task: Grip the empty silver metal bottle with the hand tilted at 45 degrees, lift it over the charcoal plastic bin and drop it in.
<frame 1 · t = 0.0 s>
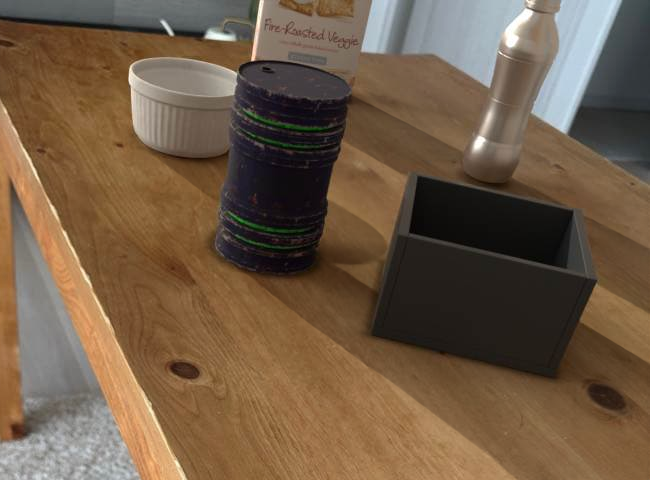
cracker box: (299, 91, 121), on the table
ramekin: (183, 142, 100), on the table
silver metal bottle: (483, 180, 106), on the table
storage jar: (265, 252, 82), on the table
bin: (463, 316, 78), on the table
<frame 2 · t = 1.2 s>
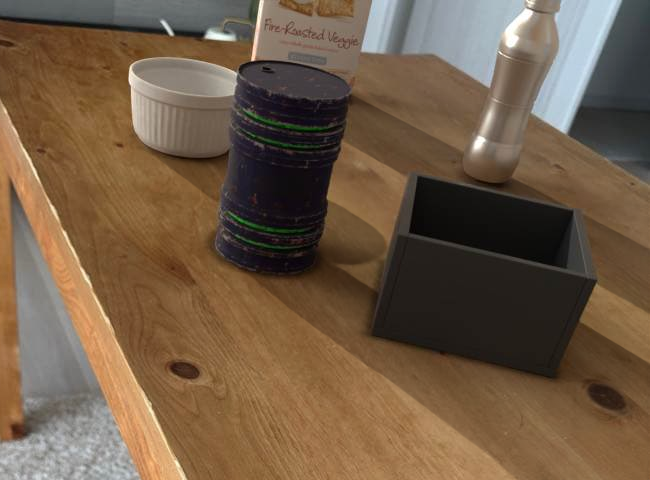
nothing on the table moved.
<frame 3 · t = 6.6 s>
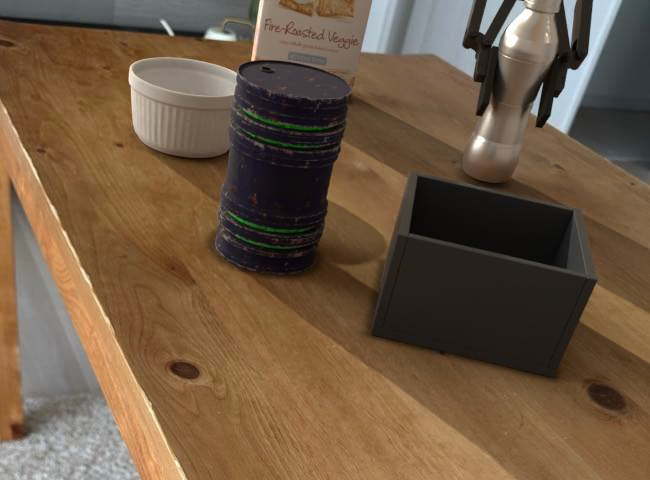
hand: (512, 115, 97), 8 cm above the table, tool tilted 45°, fingers closed on silver metal bottle, 6 cm apart
silver metal bottle: (483, 180, 106), on the table, touching gripper
everything else where it was.
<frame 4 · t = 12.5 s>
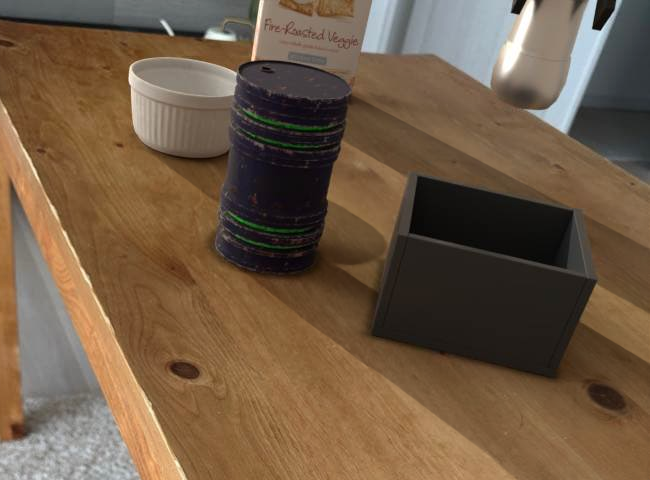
hand: (561, 11, 71), 22 cm above the table, tool tilted 45°, fingers closed on silver metal bottle, 6 cm apart
silver metal bottle: (517, 108, 80), point 14 cm above the table, touching gripper
everything else where it was.
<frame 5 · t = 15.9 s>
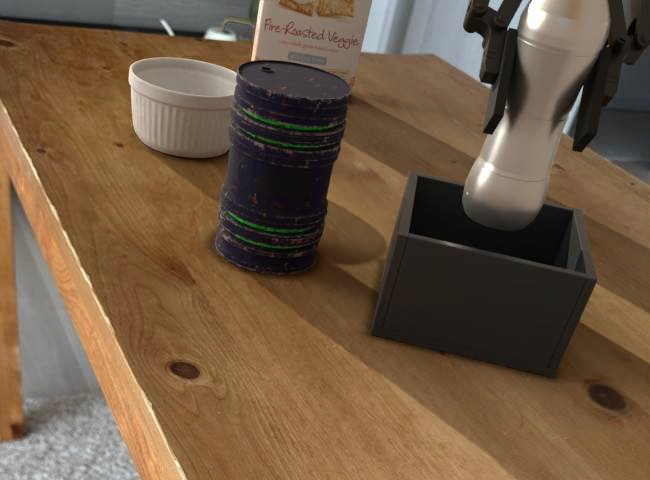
hand: (538, 133, 64), 17 cm above the table, tool tilted 45°, fingers closed on silver metal bottle, 6 cm apart
silver metal bottle: (492, 225, 73), point 8 cm above the table, touching gripper
everything else where it was.
when the fingers open (9 cm above the table, at t = 18.4 s): silver metal bottle stays where it is, resting on bin.
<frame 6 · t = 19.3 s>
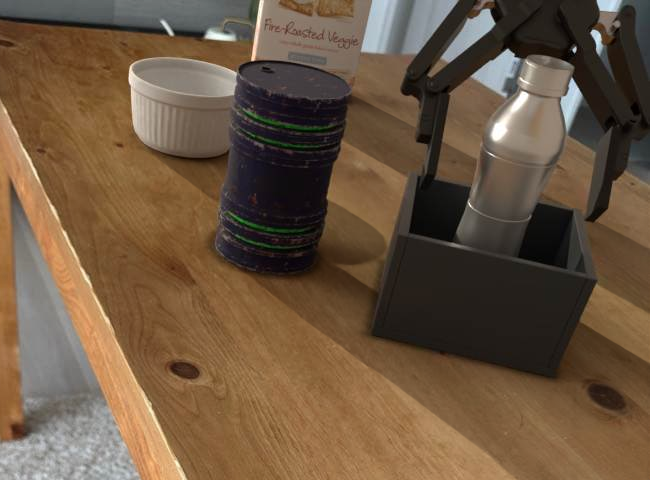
hand: (511, 199, 69), 12 cm above the table, tool tilted 45°, fingers open, 13 cm apart
silver metal bottle: (463, 309, 78), point 1 cm above the table, touching bin
everything else where it was.
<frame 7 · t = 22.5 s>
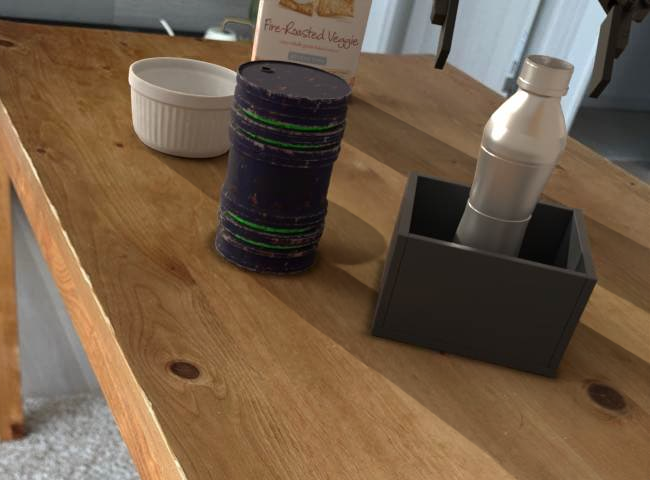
hand: (520, 75, 74), 17 cm above the table, tool tilted 45°, fingers open, 13 cm apart
nothing on the table moved.
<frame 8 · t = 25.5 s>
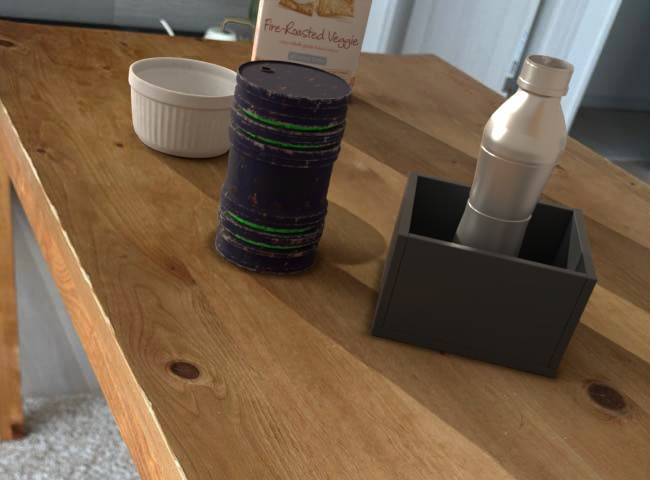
nothing on the table moved.
at the end: silver metal bottle inside the target area in the bin (0.1 cm from its centre), point 0.6 cm above the bin's base; the gripper is holding nothing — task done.
